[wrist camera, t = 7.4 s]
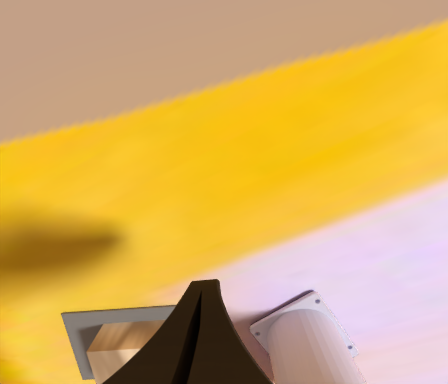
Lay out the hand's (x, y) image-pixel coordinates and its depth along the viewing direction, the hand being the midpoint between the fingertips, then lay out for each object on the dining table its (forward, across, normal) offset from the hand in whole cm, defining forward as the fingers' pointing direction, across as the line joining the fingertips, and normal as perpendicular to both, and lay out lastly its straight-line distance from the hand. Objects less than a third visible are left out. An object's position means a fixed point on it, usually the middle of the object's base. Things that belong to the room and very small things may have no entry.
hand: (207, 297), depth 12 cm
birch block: (+9, +13, +14) cm, 21 cm away
